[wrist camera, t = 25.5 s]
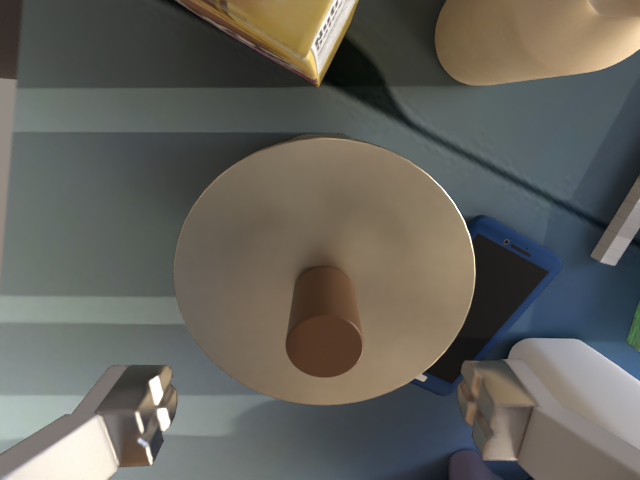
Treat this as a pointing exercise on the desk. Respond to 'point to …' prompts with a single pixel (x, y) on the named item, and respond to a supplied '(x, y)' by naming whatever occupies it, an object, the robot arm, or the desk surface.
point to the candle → (533, 38)
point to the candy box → (283, 29)
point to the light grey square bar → (620, 229)
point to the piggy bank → (470, 467)
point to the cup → (585, 383)
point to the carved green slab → (635, 330)
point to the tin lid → (324, 271)
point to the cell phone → (492, 297)
